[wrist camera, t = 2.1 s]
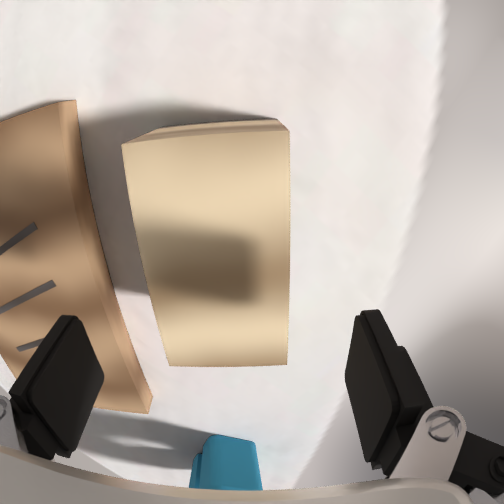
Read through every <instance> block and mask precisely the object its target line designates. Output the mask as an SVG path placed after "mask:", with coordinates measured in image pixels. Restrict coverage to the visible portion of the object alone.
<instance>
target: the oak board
mask: <svg viewBox="0 0 504 504" xmlns="http://www.w3.org/2000/svg"><path fill="white" fill-rule="evenodd" d="M61 315H75V316H77V317H78V318H79V320H81V321H82V323H83V325H84V327H85V330H86V332H87V335H88V337H89V340H90V342H91V345H92V347H93V349H94V352H95V354H96V356H97V359H98V361H99V363H100V365H101V368H102V370H103V372H104V382H103V385H102V387H101V389H100V392H99V394H98V396H97V399H96V401H95V403H94V406H93V407H95V408H101V409H108V410H116V411H124V412H132V413H142V414H148V413H149V409H150V405H151V402H152V398H153V396H152V394H151V391H150V389H149V386H148V384H147V382H146V379H145V377H144V374H143V372H142V369H141V367H140V364H139V361H138V359H137V356H136V354H135V351H134V348H133V345H132V343H131V340H130V337H129V334H128V331H127V329H126V326H125V323H124V320H123V317H122V314H121V311H120V308H119V304H118V301H117V298H116V295H115V292H114V288H113V285H112V282H111V278H110V275H109V271H108V268H107V264H106V260H105V257H104V253H103V249H102V245H101V241H100V237H99V233H98V229H97V224H96V220H95V216H94V211H93V207H92V202H91V197H90V192H89V187H88V182H87V176H86V170H85V165H84V158H83V152H82V146H81V139H80V131H79V123H78V115H77V105H76V100H71V101H63V102H57V103H54V104H51V105H47V106H44V107H41V108H38V109H35V110H32V111H29V112H26V113H23V114H20V115H18V116H15V117H12V118H10V119H7V120H4V121H2V122H0V354H1V356H2V358H3V359H4V361H5V362H6V364H7V366H8V367H9V369H10V370H11V372H12V374H13V375H14V377H15V378H16V380H17V378H18V376H19V375H20V373H21V372H22V370H23V369H24V367H25V366H26V364H27V363H28V361H29V360H30V358H31V357H32V355H33V354H34V352H35V351H36V349H37V348H38V346H39V345H40V343H41V342H42V341H43V339H44V338H45V336H46V335H47V334H48V332H49V331H50V329H51V328H52V327H53V325H54V324H55V322H56V321H57V320H58V318H59V317H60V316H61Z"/></svg>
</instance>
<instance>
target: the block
mask: <svg viewBox="0 0 504 504" xmlns="http://www.w3.org/2000/svg"><path fill="white" fill-rule="evenodd" d="M189 488H195V489H210V490H236V491H261V490H263V489H262V483H261V477H260V471H259V464H258V458H257V452H256V446H255V443H254V442H252V441H247V440H242V439H237V438H232V437H227V436H222V435H212V436H210V437H209V438H208V440H207V441H206V442H205V444H204V446H203V452H202V454H199V453H198V454H197V456H196V457H195V458H194V460H193V466H192V472H191V477H190V483H189Z"/></svg>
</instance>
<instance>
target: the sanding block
mask: <svg viewBox="0 0 504 504" xmlns="http://www.w3.org/2000/svg"><path fill="white" fill-rule="evenodd" d="M121 147H122V154H123V161H124V168H125V175H126V181H127V188H128V194H129V200H130V205H131V211H132V216H133V222H134V227H135V232H136V237H137V242H138V246H139V251H140V256H141V260H142V265H143V269H144V274H145V278H146V282H147V286H148V290H149V294H150V298H151V302H152V306H153V310H154V314H155V318H156V321H157V325H158V329H159V332H160V336H161V339H162V343H163V346H164V350H165V353H166V356H167V360H168V363H169V366H187V367H242V366H272V365H287V353H288V324H289V284H290V135H289V130H288V129H287V128H286V127H285V126H284V125H283V124H282V123H281V122H280V121H279V120H277V119H253V120H233V121H218V122H205V123H194V124H184V125H174V126H166V127H161V128H158V129H156V130H153V131H151V132H149V133H146V134H144V135H141V136H139V137H137V138H135V139H132V140H130V141H128V142H126V143H123V144H121Z"/></svg>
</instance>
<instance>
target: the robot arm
mask: <svg viewBox="0 0 504 504" xmlns="http://www.w3.org/2000/svg"><path fill="white" fill-rule="evenodd" d="M103 382H104V372H103V370H102V368H101V365H100V363H99V361H98V359H97V356H96V354H95V352H94V349H93V347H92V345H91V342H90V340H89V337H88V335H87V332H86V330H85V327H84V325H83V323H82V321H81V320H79V318H78V317H77V316H75V315H61V316H60V317H59V318H58V320H57V321H56V322H55V324H54V325H53V327H52V328H51V329H50V331H49V332H48V334H47V335H46V336H45V338H44V339H43V341H42V342H41V343H40V345H39V346H38V348H37V349H36V351H35V352H34V354H33V355H32V357H31V358H30V360H29V361H28V363H27V364H26V366H25V367H24V369H23V370H22V372H21V373H20V375H19V376H18V378H17V380H16V381H15V383H14V384H13V386H12V387H11V389H10V391H9V392H8V393H9V394H10V395H11V399H10V400H9V399H8V398H7V397H5V396H2V395H0V504H504V446H501V445H499V444H496V443H494V442H491V441H488V440H486V439H484V438H482V437H479V436H476V435H474V434H472V433H469V432H467V431H466V423H465V420H464V418H463V417H462V415H461V414H460V413H459V412H458V411H457V410H455V409H453V408H451V407H447V406H436V407H433V405H432V403H431V401H430V398H429V396H428V394H427V392H426V390H425V388H424V385H423V383H422V381H421V379H420V377H419V375H418V373H417V371H416V369H415V367H414V365H413V363H412V361H411V359H410V357H409V355H408V353H407V351H406V349H405V348H404V347H403V346H397V343H396V341H395V340H394V337H393V335H392V333H391V331H390V330H389V327H388V325H387V324H386V322H385V320H384V318H383V316H382V314H381V312H380V310H378V309H376V310H364V311H361V313H360V315H358V316H356V317H355V321H354V327H353V333H352V338H351V344H350V349H349V355H348V360H347V365H346V370H345V383H346V387H347V390H348V394H349V398H350V402H351V406H352V409H353V413H354V417H355V421H356V425H357V429H358V433H359V437H360V442H361V446H362V450H363V454H364V458H365V461H366V462H371V466H372V470H374V469H380V468H382V470H383V474H384V475H386V477H385V479H381V480H373V481H366V482H358V483H350V484H342V485H334V486H325V487H315V488H302V489H287V490H261V491H236V490H210V489H195V488H184V487H174V486H165V485H158V484H151V483H144V482H138V481H132V480H127V479H121V478H116V477H111V476H107V475H102V474H98V473H93V472H89V471H85V470H81V469H77V468H74V467H70V466H67V465H63V464H60V463H56V462H55V459H54V455H55V453H56V454H57V455H59V456H62V457H66V458H70V456H71V453H72V452H73V451H75V450H76V448H77V445H78V443H79V440H80V438H81V435H82V433H83V430H84V428H85V425H86V423H87V420H88V418H89V415H90V413H91V410H92V408H93V406H94V403H95V401H96V399H97V396H98V394H99V392H100V389H101V387H102V385H103Z"/></svg>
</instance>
